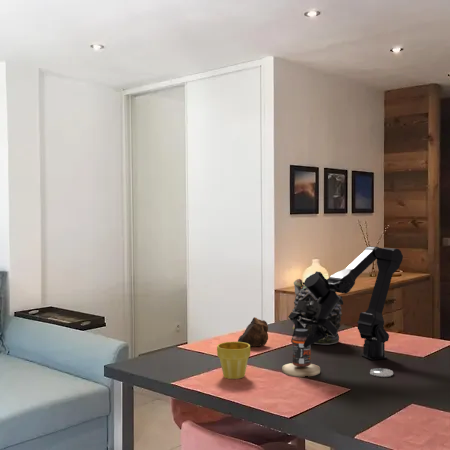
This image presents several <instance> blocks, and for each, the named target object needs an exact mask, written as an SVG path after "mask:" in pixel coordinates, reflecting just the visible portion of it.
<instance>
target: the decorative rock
mask: <svg viewBox="0 0 450 450" xmlns="http://www.w3.org/2000/svg"><path fill="white" fill-rule="evenodd" d="M268 330H269V325H268V322H267V321H266V320H264V319H263V320H262V319H259V318H257V317H253V318H252V320H251V322H250V323H249V324H248V325H247V326H246V329H245V330H244V332H243V333H242V334H241V335H240V336H239V338H238V339H237V342H244V343H248V344H249V345H250V347H254V348H255V347H259V346H265V345H267V342H268V340H269V333H268Z"/></svg>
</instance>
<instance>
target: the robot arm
mask: <svg viewBox="0 0 450 450" xmlns="http://www.w3.org/2000/svg"><path fill="white" fill-rule="evenodd" d="M403 259H404V256H403V254H402V251H401V249H399V248H391V247H379V246H370V245H369V246H366V247H365V249H364V250H363V252H362V253H360V254H359V255H358V256H357V257H356V258H355V259H354V260H353V261H351V263H350V264H348V265H347V267H345V268H343V269H342V270H339V271H336V272H335V273H333V274H331V275H330V276H329V277H328V278H326V277H325V276H324V274H323V273H322V272H321V271H315V272H314V273H312V274H310V275H309V276H308V277H306V278H305V280H304V281H303V282H304V286H306V288H307V289H308V290H309V291H310V292H311V293H312V294H313V296H314V297H316V298H318V297H320V298H319V299H318V301H317V302H316V301H311V302H306V301H301V300H298V303H297V306H296V310H300V311H302V312H304V313H303V314H304V316H306V317H307V318H305V317H304V316H303V315H302V314H301V313H298V312H292V311H291V312H290V313H289V315H288V319H289V320H290V321H291V322H292V323H293V326H294V325H295V328H294V329H293V332H292V336H291V339H290V342H291V343H292V338H293V337H294V336H295V330H296V329H305V328H306V327H307V326H308V325H309V326H312V330H311V332H310V334H309V336H308V337H307V339H306V341H305V343H304V345H303V346H304V347H308V346H309V345H311V346H312V345H313V344H314V343H315V342H317V341H318V340H321V339H323V338H325V337H328V336H327V333H328V335H329V336H332V337H335V335H336V334H337V328H336V327H335V325H334V324H333V323H332V322H331V321H330V320H328V319H327V317H329V318H331V316H332V315H331V314H330V313H331V311H332V310H333V308H334V307H335V306H336V304H340V306H341V305H344V300H343V296H342V295H339V293H340V294H348V293H350V291H351V290H352V289H353V288H354V286H355V284H356V280H357V278H358V277H359V276H360V275H361V274H363V272H364V271H365V270H367V269H368V268H369V267H370V266H371V265H372V264H373V263H374V262H375V261H376V266H377V270H378V272H377V275H376V278H375V281H374V286H373V289H372V292H371V298H370V301H369V304H368V308H367V310H366V311H365V312H360V313H359V317H358V320H357V322H356V323H357V330H358V332H359V336H360V339H363V341H364V343H363V345H362V346H363V347H362V349H363V354H361V356H362V357H364V358H365V359H366V358H367V359H369V360H371V361H375V360H383V359H384V360H385V359H388V356H386V355H385V353H386V352H385V351H386V349H385V347H386V345H385V343H386V342H389V338H390V334H389V333H388V332H387V330H386V329H385V328H384V326H385V320H384V316H383V310H384V307H385V304H386V300H387V296H388V293H389V289H390V284H391V282H392V278H393V275H394V274H395V273H396V272H397V270H399V269H400V267H401V264H402V262H403Z"/></svg>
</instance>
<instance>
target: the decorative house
mask: <svg viewBox="0 0 450 450" xmlns="http://www.w3.org/2000/svg"><path fill="white" fill-rule="evenodd" d="M304 282H305V281H303V280H302V279H301V278H296V279H295V280H294V281H293V285H294V294H295V296H294V297H295V299H294V301H293V304H294V307H293V309H292V310H291V312H298V313H301V314H302V315H303V316H304V314H303V313H304V312H302V311H300V310H296V306H297V303H298V300H301V301H306V302H311V301H316V302H317V301H318V299H319V298H320V297H318V298H316V297H314V296H313V294H312V293H311V292H310V291H309V290H308V289H307V288H306V286H305V285H304ZM330 314H331V315H332V316H331V318H329V317H327V319H328V320H330V321H331V322H332V323H333V324H334V325H335V327H336V328H337V334H336V335H335V337H332V336H329V335H328V333H327V336H328V337H325V338H323V339H321V340H318V341H317V342H315V343H313V344H316V345H333V344H337V343H338V342H339V341H340V335H339V333H338V332H339V330H340V329H339V328H340V327H341V322H342V318H341V317H342V316H343V313H342V306H341V305H340V304H336V306H335V307H334V308H333V310H332V311H331V313H330ZM304 317H305V318H307V317H306V316H304ZM291 328H292V329H293V330H294V328H295V325H294V324H293V326H292V327H291ZM305 329H307V330H308V336H309V334H310V332H311V330H312V326H309V325H308V326H307V327H306V328H305Z"/></svg>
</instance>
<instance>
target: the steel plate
mask: <svg viewBox="0 0 450 450" xmlns="http://www.w3.org/2000/svg"><path fill="white" fill-rule="evenodd" d="M369 374H370V375H372V376H374V377H380V378H389V377H390V378H391V377H392V376H394V371H393V370H391V369H389V368H382V367H379V368H378V367H377V368H371V369H370V370H369Z"/></svg>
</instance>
